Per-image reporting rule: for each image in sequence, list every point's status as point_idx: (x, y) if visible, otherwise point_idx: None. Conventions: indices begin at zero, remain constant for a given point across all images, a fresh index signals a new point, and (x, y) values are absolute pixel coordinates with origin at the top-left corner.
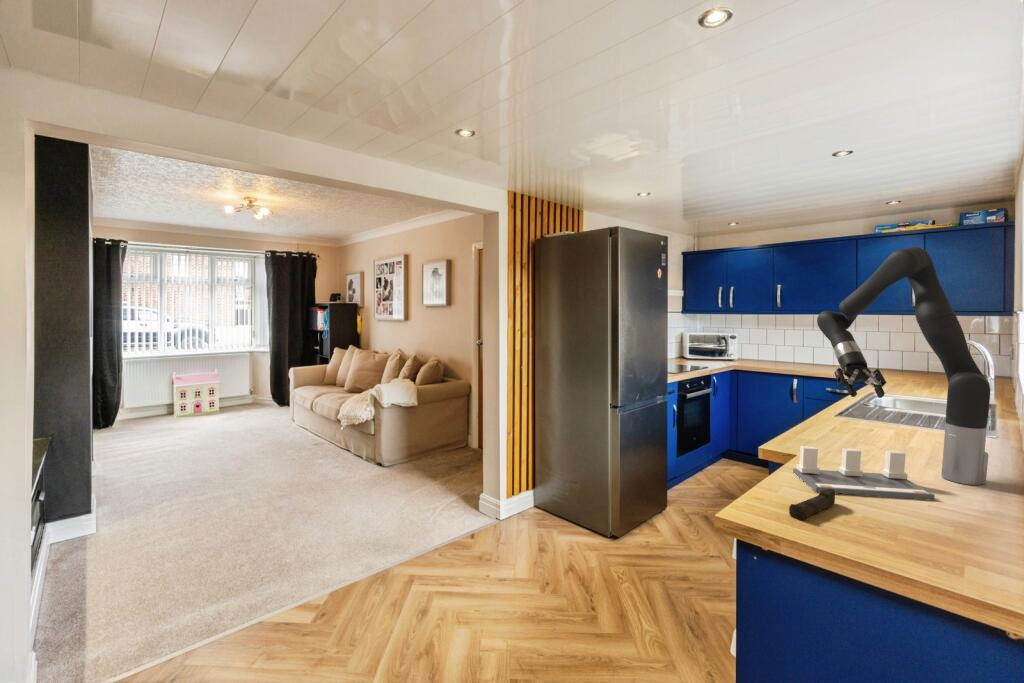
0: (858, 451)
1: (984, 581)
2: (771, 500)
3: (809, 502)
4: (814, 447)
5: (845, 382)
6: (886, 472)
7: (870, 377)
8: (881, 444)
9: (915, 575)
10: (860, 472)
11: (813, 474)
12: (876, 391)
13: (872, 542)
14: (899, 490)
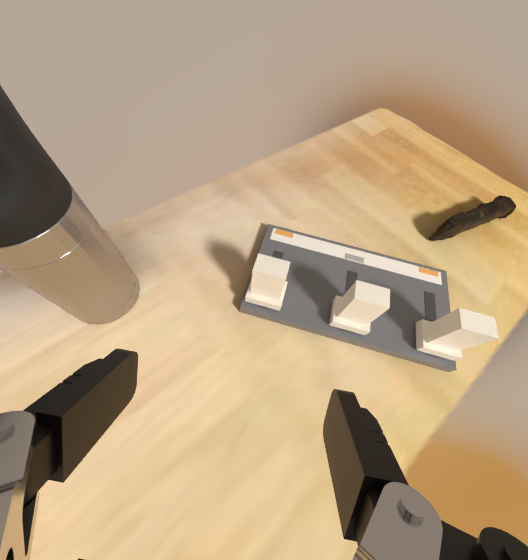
0: (362, 282)
1: (377, 122)
2: (517, 259)
3: (492, 204)
4: (463, 321)
5: (464, 558)
6: (285, 289)
7: (1, 552)
8: None
9: (425, 133)
10: (340, 297)
11: None
12: (96, 430)
13: (431, 168)
14: (312, 242)
